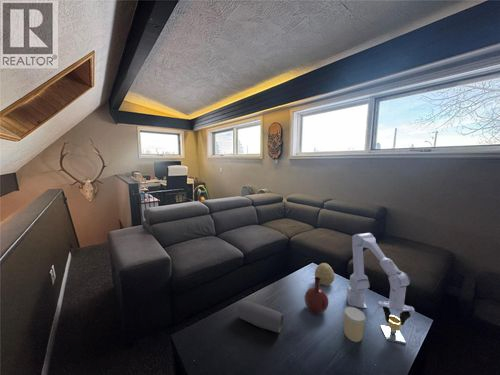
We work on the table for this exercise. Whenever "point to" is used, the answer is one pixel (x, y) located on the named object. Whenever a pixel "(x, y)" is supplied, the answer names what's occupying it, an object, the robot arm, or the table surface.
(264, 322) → the bluetooth speaker
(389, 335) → the shaft block
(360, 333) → the coffee cup
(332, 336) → the table surface
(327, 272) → the fossilized egg
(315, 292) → the round-bottom flask
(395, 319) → the collar
